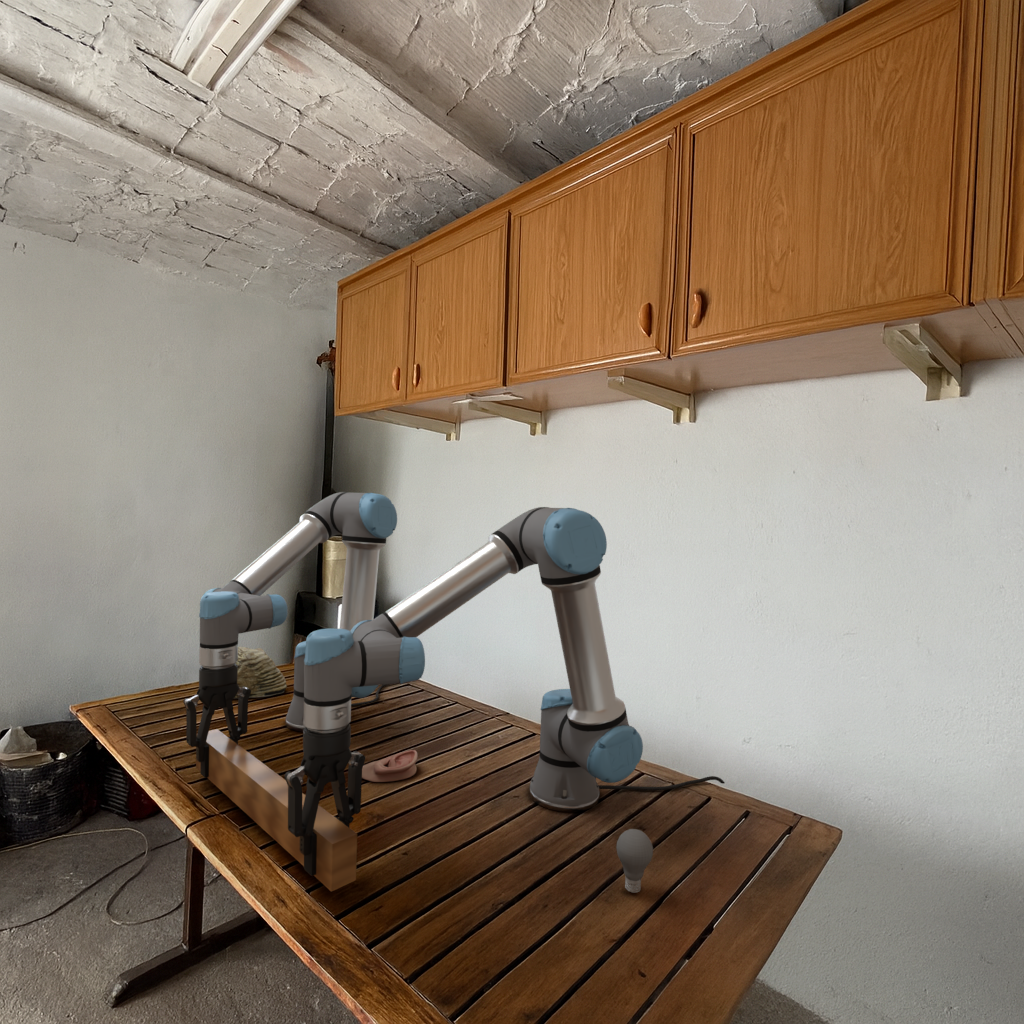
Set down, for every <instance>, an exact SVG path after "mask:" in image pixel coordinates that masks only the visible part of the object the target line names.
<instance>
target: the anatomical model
mask: <svg viewBox="0 0 1024 1024" xmlns="http://www.w3.org/2000/svg"><path fill="white" fill-rule="evenodd" d="M418 755H419V754H418V752H417V750H415V749H409V750H405V751H402V752H399V753H396V754H393V755H390V756H388V757H386V758H382V759H379V760H375V761H371V762H369V763H366V764H364V765H363V768H362V780H366V781H369V782H373V783H386V782H387V783H388V782H395V781H401V780H406V779H408V778H411V777H412V776H415V774H416V773H417V765H416V763H417V761H418Z"/></svg>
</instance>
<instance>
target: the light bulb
mask: <svg viewBox="0 0 1024 1024" xmlns="http://www.w3.org/2000/svg"><path fill="white" fill-rule="evenodd" d="M615 849H616V854H617V857H618V859H619V861H620V863H621V865H622V867H623V873H624V874H623V875H624V876H625V878H624V888H625V890H627V891H628V892H630V893H634V894H635V893H639V892H640V891H641V889H642V887H641V886H642V879H643V877H644V875H645V871H646V868H647V867H648V866H649V864H650V863H651V861H652V859H653V855H654V847H653V843H652V841H651V838H649V836H648V835H647V834H646V833H645V832H643V831H642V830H641V829H636V828H629V829H627V830H625V831H623V832H622V833H621V834H620V835H619V837H618V839H617V841H616V847H615Z"/></svg>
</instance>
